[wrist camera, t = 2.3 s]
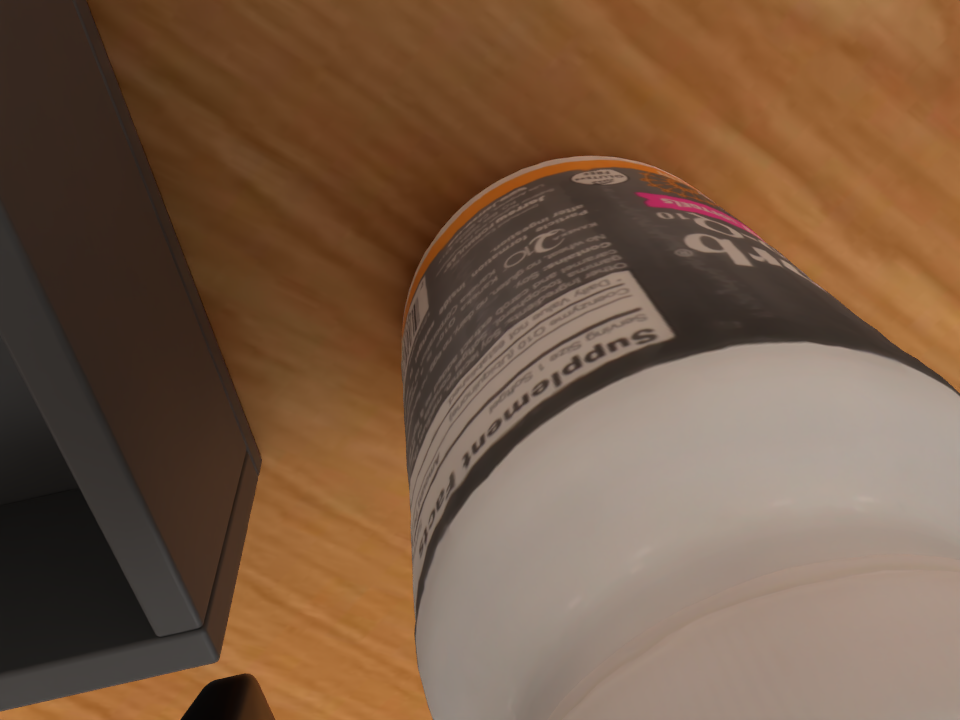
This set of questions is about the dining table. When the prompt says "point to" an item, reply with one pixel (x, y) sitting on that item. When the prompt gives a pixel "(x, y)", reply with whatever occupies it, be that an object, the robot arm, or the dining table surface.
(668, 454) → the pill bottle
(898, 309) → the dining table surface
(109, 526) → the grid
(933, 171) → the dining table surface
